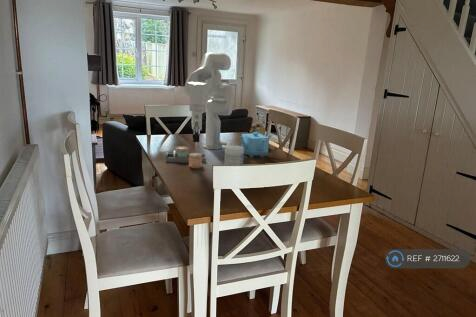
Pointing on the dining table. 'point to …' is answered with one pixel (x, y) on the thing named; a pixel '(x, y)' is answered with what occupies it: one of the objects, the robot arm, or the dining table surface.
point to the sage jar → (181, 152)
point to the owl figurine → (257, 128)
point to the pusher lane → (171, 158)
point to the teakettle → (255, 144)
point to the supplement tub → (234, 155)
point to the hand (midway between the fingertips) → (195, 140)
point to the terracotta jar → (195, 160)
